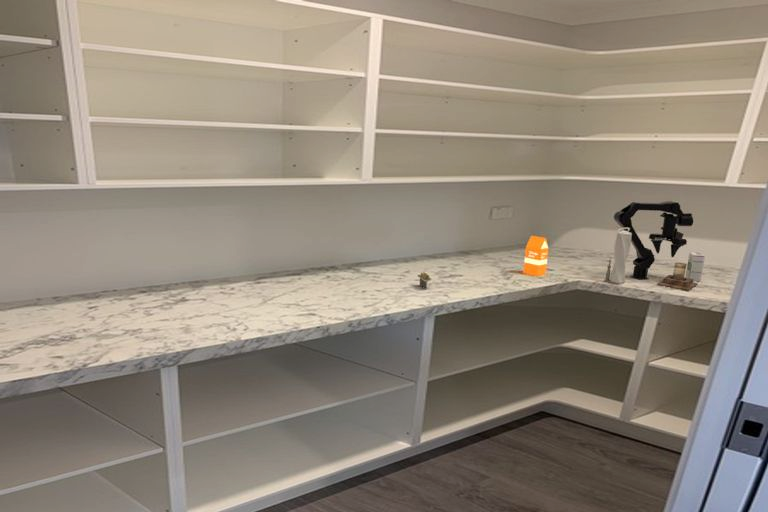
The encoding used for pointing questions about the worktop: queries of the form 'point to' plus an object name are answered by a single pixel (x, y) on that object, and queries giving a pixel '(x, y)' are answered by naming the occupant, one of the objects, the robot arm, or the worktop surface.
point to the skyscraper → (619, 257)
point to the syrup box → (695, 266)
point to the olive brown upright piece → (424, 279)
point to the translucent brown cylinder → (679, 271)
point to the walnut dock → (677, 283)
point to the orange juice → (536, 256)
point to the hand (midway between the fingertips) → (665, 255)
